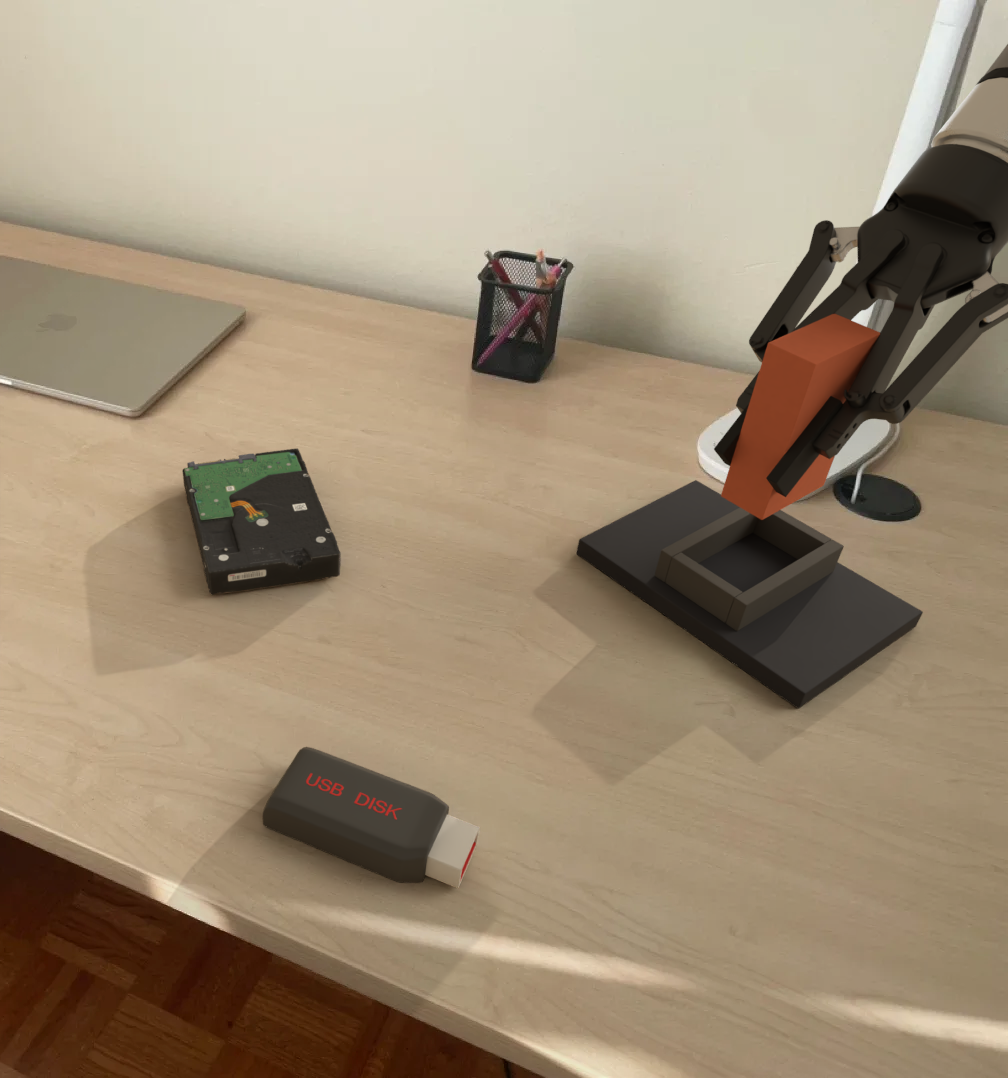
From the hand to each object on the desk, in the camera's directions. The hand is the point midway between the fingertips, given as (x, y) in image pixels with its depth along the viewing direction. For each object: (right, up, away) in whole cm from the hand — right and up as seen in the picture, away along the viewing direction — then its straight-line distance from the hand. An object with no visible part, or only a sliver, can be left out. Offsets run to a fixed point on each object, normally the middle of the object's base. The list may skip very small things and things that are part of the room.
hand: (749, 472), depth 71 cm
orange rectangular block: (+3, -1, +4) cm, 5 cm away
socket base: (+3, -8, +9) cm, 13 cm away
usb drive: (-26, -22, -8) cm, 35 cm away
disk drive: (-33, -4, +15) cm, 37 cm away
